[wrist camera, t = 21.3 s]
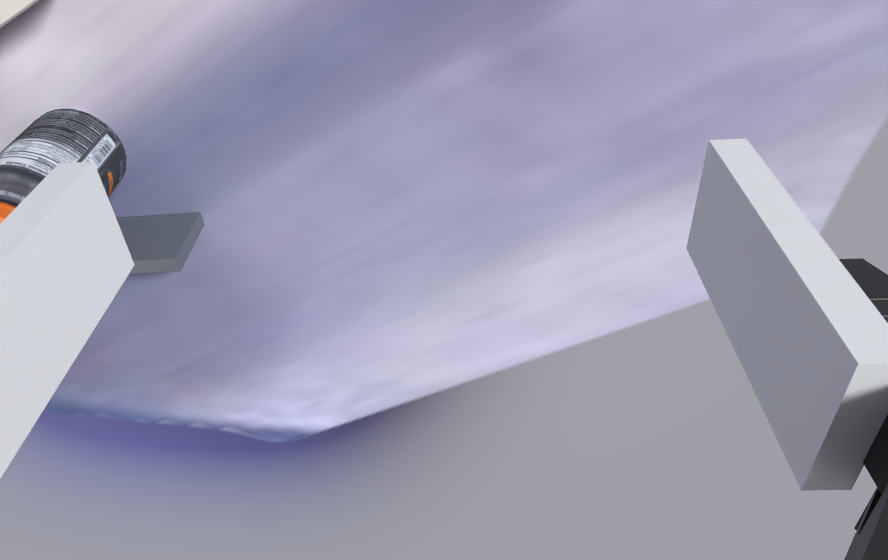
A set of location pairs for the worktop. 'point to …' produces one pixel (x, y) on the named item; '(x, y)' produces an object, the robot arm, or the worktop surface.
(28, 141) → the pill bottle
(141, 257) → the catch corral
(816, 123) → the worktop surface
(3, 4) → the cream block
